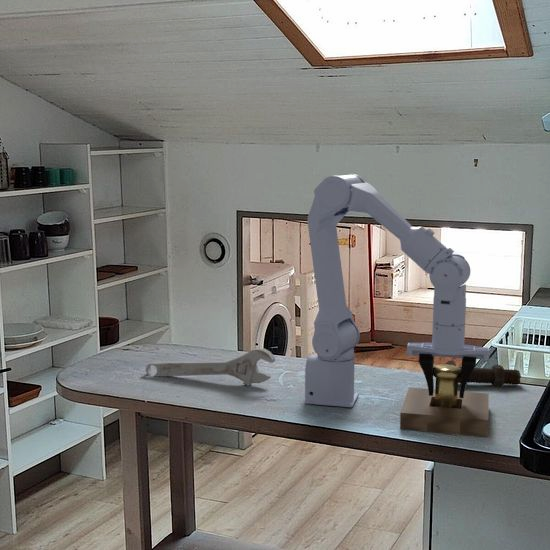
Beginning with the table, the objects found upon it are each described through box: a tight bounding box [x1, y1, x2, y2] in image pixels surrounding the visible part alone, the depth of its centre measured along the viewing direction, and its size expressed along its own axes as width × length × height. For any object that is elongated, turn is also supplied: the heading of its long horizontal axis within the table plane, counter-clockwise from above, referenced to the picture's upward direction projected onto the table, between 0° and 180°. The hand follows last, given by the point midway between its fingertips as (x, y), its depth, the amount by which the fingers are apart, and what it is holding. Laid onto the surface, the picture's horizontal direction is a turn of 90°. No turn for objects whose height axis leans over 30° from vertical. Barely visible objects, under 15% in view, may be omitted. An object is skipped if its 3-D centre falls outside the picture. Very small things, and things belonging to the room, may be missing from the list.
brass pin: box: [433, 363, 461, 409], centre depth 145 cm, size 5×5×8 cm
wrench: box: [145, 347, 276, 387], centre depth 168 cm, size 8×2×30 cm
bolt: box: [445, 360, 522, 388], centre depth 165 cm, size 6×5×15 cm
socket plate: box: [399, 386, 490, 437], centre depth 145 cm, size 15×15×3 cm
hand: (446, 395), depth 145 cm, fingers closed on brass pin, 5 cm apart
